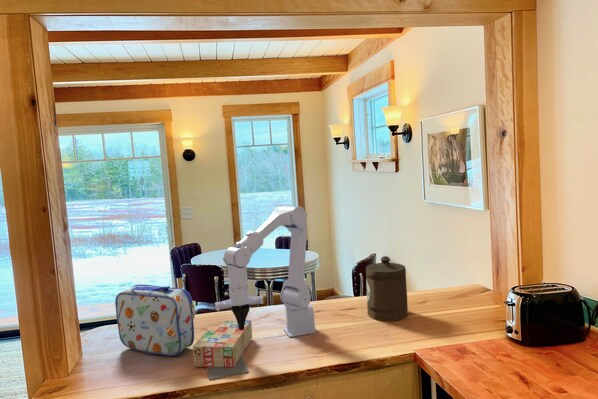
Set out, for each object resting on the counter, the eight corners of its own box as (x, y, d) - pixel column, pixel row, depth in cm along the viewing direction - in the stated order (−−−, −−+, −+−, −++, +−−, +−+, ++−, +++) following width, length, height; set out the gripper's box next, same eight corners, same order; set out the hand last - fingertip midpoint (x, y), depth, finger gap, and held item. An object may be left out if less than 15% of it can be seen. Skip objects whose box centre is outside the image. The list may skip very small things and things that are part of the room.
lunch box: (203, 347, 145) (198, 281, 143) (184, 361, 135) (179, 291, 133) (137, 339, 155) (132, 277, 153) (115, 351, 145) (109, 286, 143)
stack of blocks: (253, 338, 149) (218, 337, 151) (251, 320, 148) (217, 319, 151) (233, 367, 128) (193, 366, 130) (232, 346, 127) (191, 346, 130)
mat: (235, 341, 148) (235, 339, 148) (248, 372, 125) (248, 371, 125) (202, 346, 145) (202, 345, 145) (209, 380, 122) (209, 378, 122)
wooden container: (378, 305, 176) (375, 251, 174) (413, 311, 167) (412, 254, 165) (360, 317, 164) (358, 259, 162) (398, 324, 155) (395, 262, 154)
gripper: (258, 279, 141) (261, 321, 142) (213, 285, 137) (216, 328, 138) (263, 285, 134) (266, 328, 135) (215, 291, 130) (218, 336, 131)
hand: (241, 329), depth 136 cm, fingers closed
